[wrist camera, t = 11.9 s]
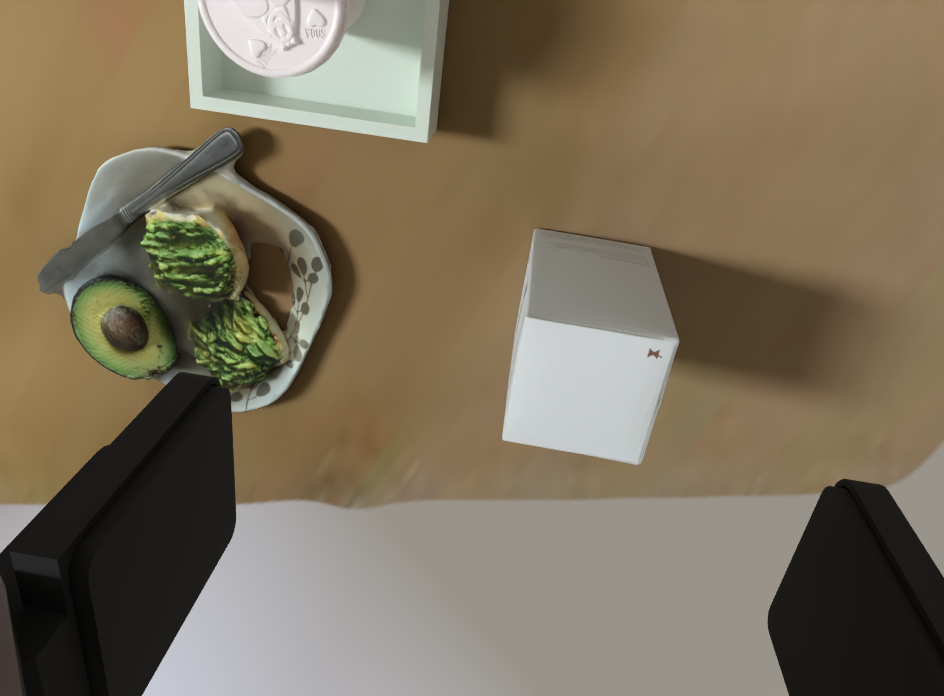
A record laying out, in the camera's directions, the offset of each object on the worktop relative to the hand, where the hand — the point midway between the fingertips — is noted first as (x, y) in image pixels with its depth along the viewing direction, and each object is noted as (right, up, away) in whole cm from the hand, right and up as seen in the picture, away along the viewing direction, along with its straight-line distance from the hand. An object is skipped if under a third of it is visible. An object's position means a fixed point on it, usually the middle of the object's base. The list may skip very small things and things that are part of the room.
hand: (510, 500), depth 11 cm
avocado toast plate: (-19, +7, +37) cm, 42 cm away
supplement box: (+6, +6, +34) cm, 35 cm away
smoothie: (-8, +21, +27) cm, 35 cm away
